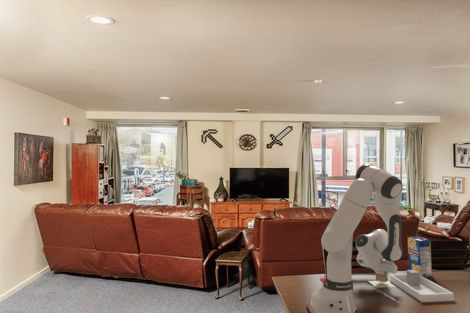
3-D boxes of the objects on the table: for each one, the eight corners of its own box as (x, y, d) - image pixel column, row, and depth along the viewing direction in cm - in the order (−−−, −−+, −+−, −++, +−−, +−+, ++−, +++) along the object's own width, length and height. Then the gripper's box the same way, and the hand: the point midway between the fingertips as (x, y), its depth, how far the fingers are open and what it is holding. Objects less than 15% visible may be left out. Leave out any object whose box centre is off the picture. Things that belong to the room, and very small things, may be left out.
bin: (421, 304, 153) (421, 294, 154) (390, 282, 182) (389, 274, 183) (454, 302, 154) (453, 293, 154) (417, 281, 183) (417, 273, 183)
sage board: (376, 289, 173) (376, 287, 173) (368, 282, 183) (368, 281, 183) (396, 288, 174) (396, 286, 174) (387, 282, 184) (386, 280, 184)
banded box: (384, 282, 176) (383, 266, 176) (375, 280, 179) (375, 264, 179) (387, 280, 178) (387, 264, 179) (379, 278, 182) (379, 262, 182)
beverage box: (421, 278, 188) (419, 240, 188) (409, 272, 198) (407, 236, 199) (432, 277, 188) (430, 240, 189) (419, 272, 199) (417, 236, 200)
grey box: (411, 285, 175) (411, 272, 175) (407, 282, 179) (406, 270, 179) (419, 285, 175) (419, 272, 175) (415, 282, 179) (414, 269, 179)
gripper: (394, 256, 167) (402, 271, 173) (357, 249, 183) (366, 263, 188) (390, 267, 164) (399, 281, 170) (353, 259, 179) (363, 272, 185)
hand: (381, 272), depth 179 cm, fingers closed on banded box, 4 cm apart
